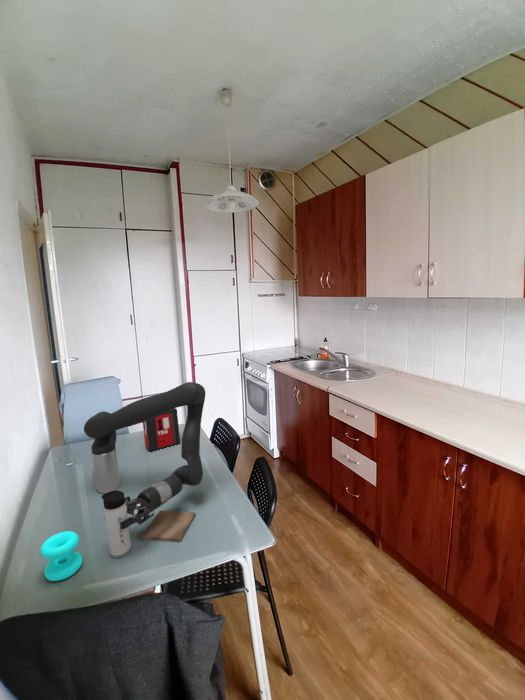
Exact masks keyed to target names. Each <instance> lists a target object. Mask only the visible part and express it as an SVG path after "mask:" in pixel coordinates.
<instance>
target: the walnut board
mask: <svg viewBox="0 0 525 700" xmlns="http://www.w3.org/2000/svg"><path fill="white" fill-rule="evenodd" d="M196 516H197V515H196V512H191V511H190V512H189V511H176V510H175V511H174V510H159V511H158V512H157V513H156V515H155V516H154V517H153V518H152V520H151V522H150V523H149V524H148V525H147V527H146V528H145V530H144V531H143V532H142V534H141V535H140V539H141V540H143V541H144V540H147V541H160V542H170V543H171V542H173V543H181V542H182V541H183V539H184V537H185V535H186V533H187V532H188V530H189V528H190V527H191V525H192V523H193V521H194V519H195V518H196Z"/></svg>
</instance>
